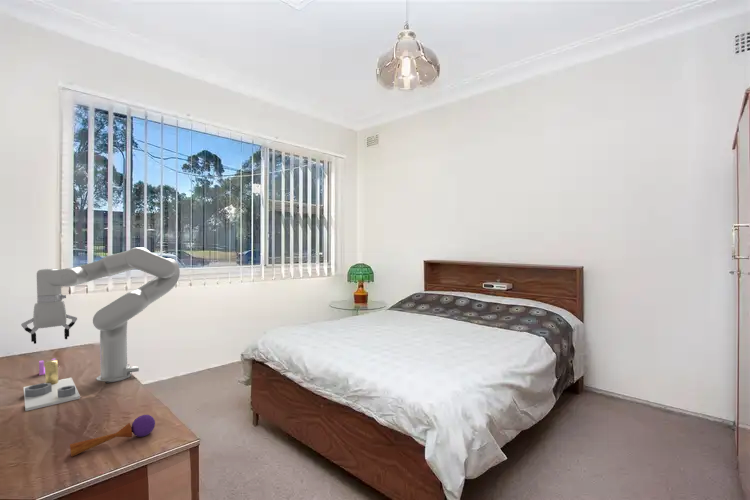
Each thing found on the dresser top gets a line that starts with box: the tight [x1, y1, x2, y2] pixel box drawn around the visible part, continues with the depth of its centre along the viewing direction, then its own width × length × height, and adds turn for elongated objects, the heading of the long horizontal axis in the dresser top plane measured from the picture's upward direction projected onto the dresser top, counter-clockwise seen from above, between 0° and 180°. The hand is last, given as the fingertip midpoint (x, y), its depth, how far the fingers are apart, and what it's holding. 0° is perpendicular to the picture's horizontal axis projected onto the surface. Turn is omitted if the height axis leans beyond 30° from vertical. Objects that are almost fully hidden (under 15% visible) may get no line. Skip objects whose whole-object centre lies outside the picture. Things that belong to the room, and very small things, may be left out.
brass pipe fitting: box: [44, 359, 59, 385], centre depth 154 cm, size 4×4×9 cm
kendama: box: [69, 414, 156, 458], centre depth 108 cm, size 6×6×20 cm
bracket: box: [38, 357, 57, 376], centre depth 171 cm, size 13×6×7 cm, turn 40°
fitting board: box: [23, 377, 81, 412], centre depth 146 cm, size 15×28×4 cm, turn 44°
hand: (50, 340), depth 154 cm, fingers open, 9 cm apart
